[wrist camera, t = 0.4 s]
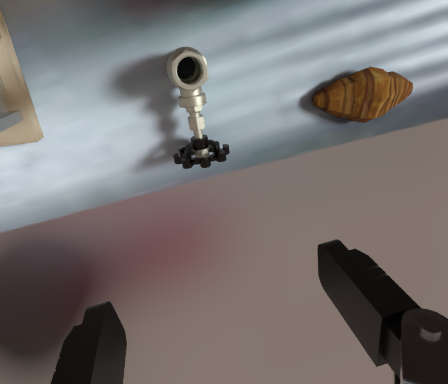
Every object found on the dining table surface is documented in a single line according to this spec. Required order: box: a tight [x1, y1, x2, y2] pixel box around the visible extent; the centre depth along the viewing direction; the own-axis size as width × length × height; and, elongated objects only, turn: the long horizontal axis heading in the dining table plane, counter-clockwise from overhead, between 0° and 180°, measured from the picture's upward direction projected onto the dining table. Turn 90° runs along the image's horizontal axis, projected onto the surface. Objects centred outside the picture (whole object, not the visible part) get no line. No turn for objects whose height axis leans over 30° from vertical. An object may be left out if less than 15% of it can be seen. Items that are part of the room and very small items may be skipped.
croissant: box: [312, 67, 413, 123], centre depth 38 cm, size 14×7×5 cm, turn 95°
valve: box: [167, 47, 230, 169], centre depth 33 cm, size 7×7×12 cm
